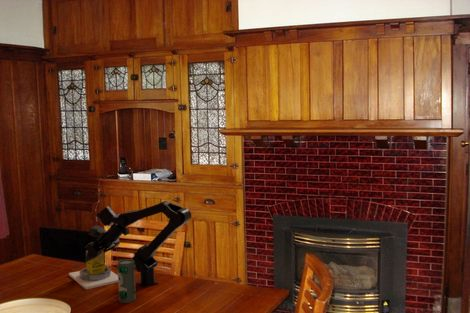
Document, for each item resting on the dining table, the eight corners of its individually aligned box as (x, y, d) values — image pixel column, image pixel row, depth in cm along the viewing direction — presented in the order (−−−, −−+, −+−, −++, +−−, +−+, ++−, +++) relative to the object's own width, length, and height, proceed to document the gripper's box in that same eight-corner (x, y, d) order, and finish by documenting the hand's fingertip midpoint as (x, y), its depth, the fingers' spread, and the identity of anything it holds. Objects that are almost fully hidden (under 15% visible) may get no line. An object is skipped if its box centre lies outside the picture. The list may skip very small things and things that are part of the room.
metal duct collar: (114, 276, 224) (114, 271, 223) (86, 283, 217) (85, 277, 216) (104, 269, 234) (103, 264, 234) (76, 275, 227) (76, 269, 226)
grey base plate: (123, 281, 221) (123, 278, 221) (85, 289, 212) (85, 287, 212) (104, 268, 239) (103, 266, 239) (69, 275, 230) (68, 273, 230)
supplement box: (92, 279, 221) (90, 254, 220) (86, 275, 226) (85, 251, 225) (105, 275, 225) (104, 251, 224) (99, 272, 229) (98, 248, 228)
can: (118, 298, 201) (116, 260, 200) (134, 296, 204) (132, 258, 202) (120, 303, 196) (119, 265, 194) (136, 301, 198) (135, 263, 196)
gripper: (112, 215, 230) (92, 238, 235) (88, 225, 213) (66, 249, 217) (129, 233, 229) (108, 256, 233) (105, 245, 211) (83, 269, 215)
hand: (91, 257), depth 225 cm, fingers open, 9 cm apart
